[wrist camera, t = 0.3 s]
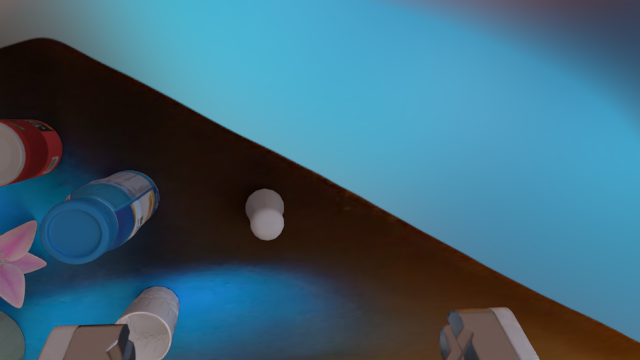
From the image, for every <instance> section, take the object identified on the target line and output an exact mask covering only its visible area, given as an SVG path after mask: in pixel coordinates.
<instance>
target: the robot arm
mask: <svg viewBox="0 0 640 360" xmlns="http://www.w3.org/2000/svg"><path fill="white" fill-rule="evenodd" d="M447 318H448V321H449V323H448V324H447V325H446V326H444V327H443V328H442V330H441V333H440V335H439V346H440V351H441V355H442V358H443V360H540V359H539V358H538V356H537V354H536V353H535V351H534V349H533V347H532V346H531V344H530V342H529V340H528V339H527V337H526V335H525V334H524V332H523V330H522V328H521V327H520V325H519V323H518V322H517V320H516V318H515V316H514V315H513V313H512V311H510V310H509V309H508V308H505V307H500V308H474V309H457V310H452V311H451V312H450V313H449V315H448V317H447ZM129 334H130V330H129V327H128V324H102V325H67V326H55V328H54V329H53V330H52V331H51V332H50V334H49V336H48V338H47V340H46V342H45V344H44V346H43V349H42V351H41V353H40V355H39V357H38V359H37V360H136V352H135V346H134V342H132V341H130V340H129V339H128V338H129Z"/></svg>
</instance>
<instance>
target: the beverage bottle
mask: <svg viewBox="0 0 640 360" xmlns="http://www.w3.org/2000/svg"><path fill="white" fill-rule="evenodd" d="M158 204H159V192H158V189H157V187H156V185H155V183H154V182H153V181H152V180H151V179H150V178H149V177H148V176H146V175H145V174H143V173H140V172H137V171H131V170H127V171H121V172H118V173H115V174H113V175H111V176H110V177H107V178H105V179H99V180H95V181H92V182H89V183H87V184H86V185H84V186H82V187H80V188H78V189H76V190H75V191H73V192H72V193H71V194H70V195H69V196H68V197H67V198H66V200H65V201H64V202H62V203H60V204H57V205H56V206H55V207H53V208H52V209H50V211H48V213H47V214H46V215H45V216H44V218H43V220H42V222H41V225H40V239H41V242H42V245H43V246H44V248H45V250H46V251H47V252H48V253H49V254H50V255H51V256H52V257H54V258H55V259H57V260H59V261H61V262H64V263H68V264H83V263H87V262H90V261H93V260H94V259H96V258H98V257H99V256H101V255H102V254H103V253H104V252H105V251H110V250H113V249H115V248H117V247H119V246H121V245H122V244H123V243H125V242H126V241H127V240H129V239H130V238H131V237H132V236H133V235H135V233H136V232H137V231H138V230H139V228H140V227H141V226H142V225H143V224H144V223H145V222H146V221H147V220H148V219H149V218H150V217H151V216H152V215H153V214H154V213H155V211H156V210H157V207H158Z"/></svg>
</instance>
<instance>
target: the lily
mask: <svg viewBox="0 0 640 360" xmlns="http://www.w3.org/2000/svg"><path fill="white" fill-rule="evenodd" d="M36 229H37V222H36V221H35V220H32V221H29V222H27V223H24V224H22V225H20V226H18V227H16V228H14V229H12V230H10V231H8V232H7V233H5V234H3V235H2V236H1V234H0V296H1V297H2V298H3V299H4V300H6V301H7V302H8V303H10V304H11V305H12V306H14V307H16V308H21V306H22V305H23V301H24V294H25V278H24V274H25V273H29V272H32V271H35V270H38V269H40V268H42V267H44V266H46V265H47V264H46V262H45V261H43V260H42V259H40V258H39V257H37V256H35V255H32V254H30V253H27V252H28V250H29V249H30V247H31V245H32V242H33V240H34V236H35V233H36Z"/></svg>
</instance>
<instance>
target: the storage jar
mask: <svg viewBox="0 0 640 360" xmlns="http://www.w3.org/2000/svg"><path fill="white" fill-rule="evenodd" d="M24 351H25V340H24V336H23V334H22V331H21V329H20V328H19V326H18V325H17V324H16V322H15V321H14V320H13V319H12V318H11V317H9V316H8V315H6V314H5V313H3V312H1V311H0V360H22V358H23V356H24Z"/></svg>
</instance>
